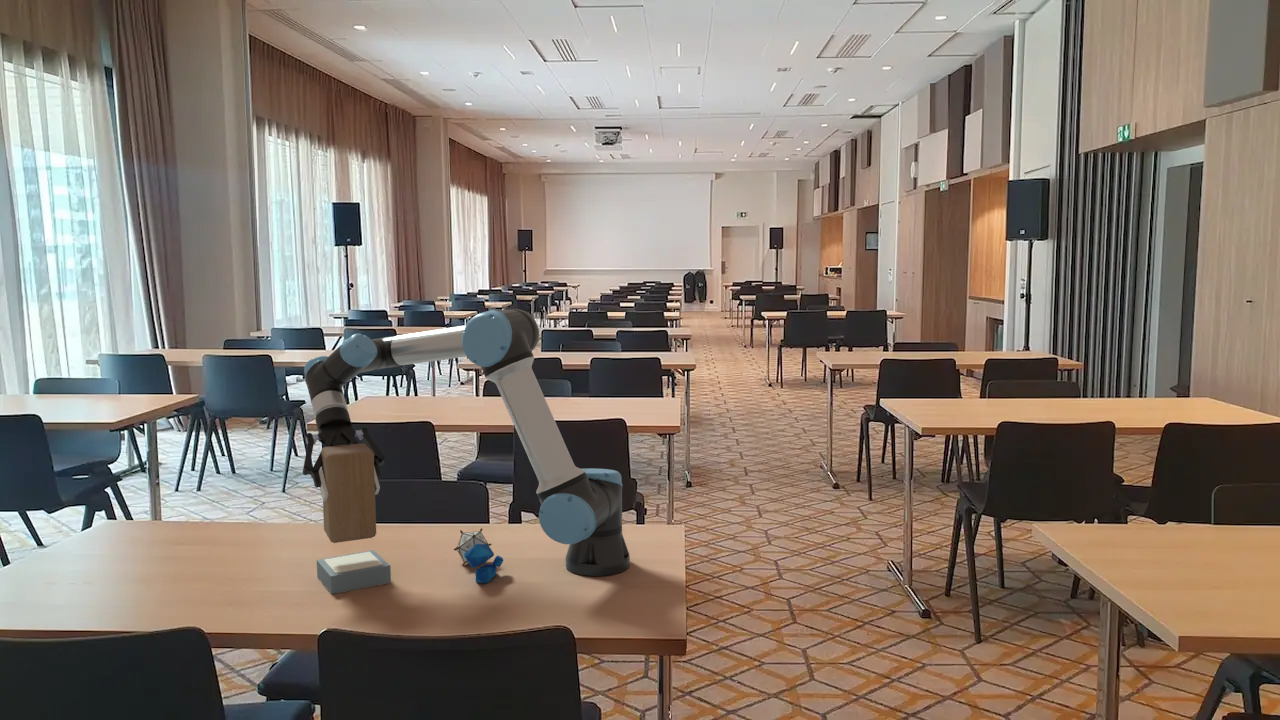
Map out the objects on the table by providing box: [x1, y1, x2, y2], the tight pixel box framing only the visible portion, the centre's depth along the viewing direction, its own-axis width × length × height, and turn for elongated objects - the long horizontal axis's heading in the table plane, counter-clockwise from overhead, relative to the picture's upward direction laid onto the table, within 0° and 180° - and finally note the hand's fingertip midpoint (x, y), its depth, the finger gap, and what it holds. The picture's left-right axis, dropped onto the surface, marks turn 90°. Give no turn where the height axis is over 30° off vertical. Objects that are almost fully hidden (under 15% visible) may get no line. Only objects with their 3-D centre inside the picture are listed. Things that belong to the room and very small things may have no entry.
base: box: [316, 549, 392, 595], centre depth 204 cm, size 13×13×4 cm
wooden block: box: [320, 442, 377, 544], centre depth 202 cm, size 10×10×20 cm
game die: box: [453, 527, 492, 567], centre depth 215 cm, size 9×8×10 cm
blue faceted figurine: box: [464, 543, 504, 584], centre depth 203 cm, size 7×9×12 cm
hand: (351, 494), depth 200 cm, fingers closed on wooden block, 10 cm apart
